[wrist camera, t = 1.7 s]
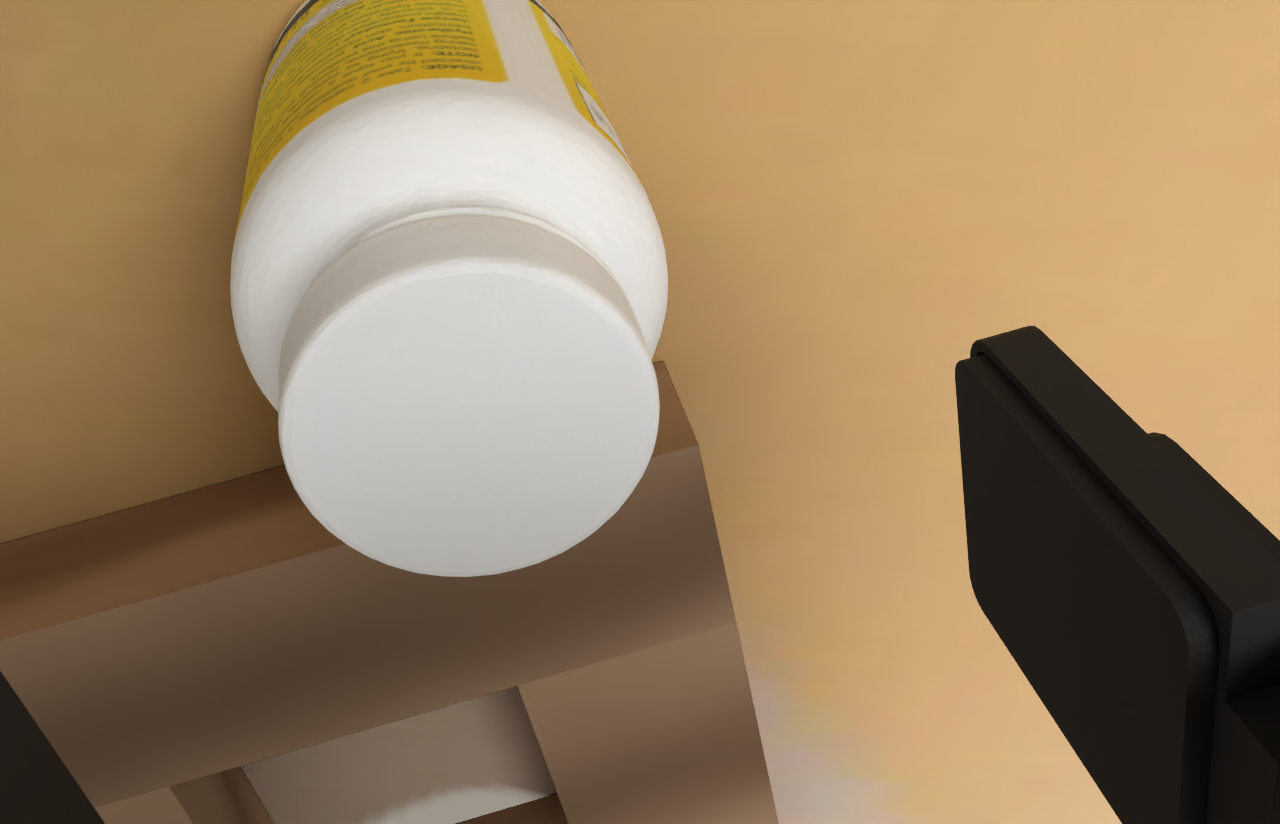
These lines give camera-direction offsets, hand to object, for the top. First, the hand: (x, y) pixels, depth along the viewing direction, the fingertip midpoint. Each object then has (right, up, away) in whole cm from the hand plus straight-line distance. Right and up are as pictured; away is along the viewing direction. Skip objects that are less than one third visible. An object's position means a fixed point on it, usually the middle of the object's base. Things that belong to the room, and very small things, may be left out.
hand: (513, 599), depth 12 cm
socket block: (-4, -6, +17) cm, 18 cm away
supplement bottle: (-2, +7, +9) cm, 12 cm away
